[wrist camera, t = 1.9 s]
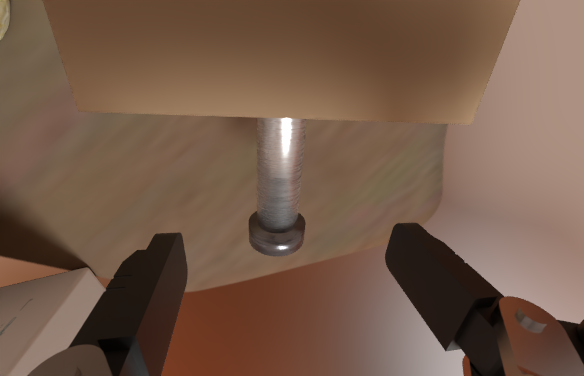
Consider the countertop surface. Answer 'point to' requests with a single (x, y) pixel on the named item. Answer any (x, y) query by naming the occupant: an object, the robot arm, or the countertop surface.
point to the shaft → (278, 187)
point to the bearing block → (282, 57)
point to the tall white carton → (43, 317)
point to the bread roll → (4, 16)
